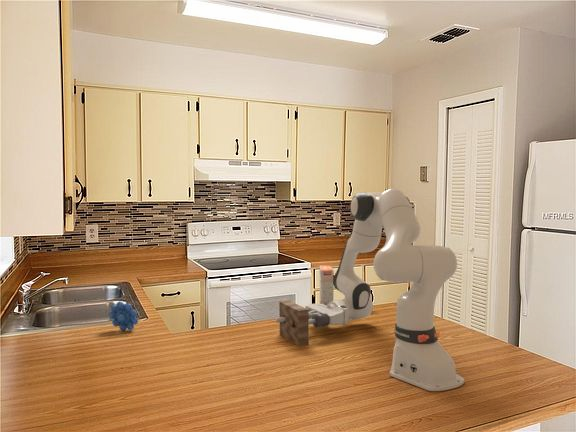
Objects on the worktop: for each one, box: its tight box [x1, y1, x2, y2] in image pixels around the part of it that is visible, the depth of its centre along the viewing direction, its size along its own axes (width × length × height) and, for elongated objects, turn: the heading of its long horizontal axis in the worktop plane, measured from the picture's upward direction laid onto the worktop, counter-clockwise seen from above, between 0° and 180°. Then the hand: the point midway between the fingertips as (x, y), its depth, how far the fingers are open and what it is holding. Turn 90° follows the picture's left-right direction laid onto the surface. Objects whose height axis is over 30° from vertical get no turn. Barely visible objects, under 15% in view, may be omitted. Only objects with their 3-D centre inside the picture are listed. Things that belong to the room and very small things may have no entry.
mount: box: [278, 300, 310, 347], centre depth 177 cm, size 16×4×13 cm, turn 27°
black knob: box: [295, 313, 330, 328], centre depth 176 cm, size 5×13×5 cm, turn 117°
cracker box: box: [319, 265, 335, 306], centre depth 215 cm, size 14×6×21 cm, turn 179°
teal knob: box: [275, 313, 310, 324], centre depth 181 cm, size 5×13×5 cm, turn 117°
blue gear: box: [108, 301, 139, 332], centre depth 189 cm, size 12×7×12 cm, turn 91°
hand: (306, 316), depth 184 cm, fingers closed, pressing on teal knob
